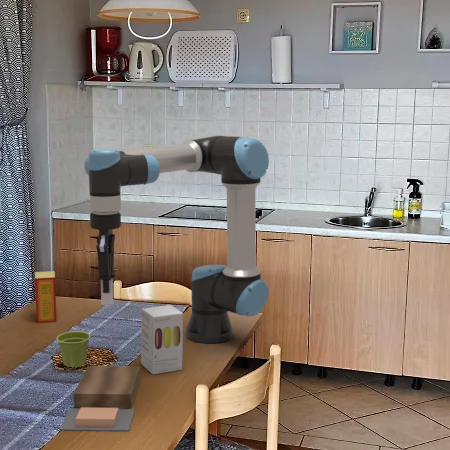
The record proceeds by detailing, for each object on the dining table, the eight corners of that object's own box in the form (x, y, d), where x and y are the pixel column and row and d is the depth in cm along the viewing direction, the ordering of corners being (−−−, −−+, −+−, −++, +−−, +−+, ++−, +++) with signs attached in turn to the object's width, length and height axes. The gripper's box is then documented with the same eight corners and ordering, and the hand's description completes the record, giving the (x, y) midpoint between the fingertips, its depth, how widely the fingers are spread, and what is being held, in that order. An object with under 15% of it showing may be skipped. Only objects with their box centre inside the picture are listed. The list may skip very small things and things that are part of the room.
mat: (134, 410, 171) (134, 408, 171) (128, 431, 160) (128, 429, 160) (69, 409, 171) (69, 408, 171) (59, 430, 160) (59, 429, 160)
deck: (140, 380, 189) (139, 366, 188) (131, 409, 171) (130, 394, 170) (88, 379, 189) (88, 365, 188) (74, 408, 171) (73, 393, 170)
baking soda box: (36, 314, 244) (35, 270, 242) (55, 313, 246) (54, 269, 243) (36, 323, 235) (35, 277, 233) (56, 321, 237) (55, 276, 234)
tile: (114, 419, 161) (114, 427, 161) (118, 407, 166) (118, 415, 167) (75, 418, 161) (75, 426, 161) (80, 407, 167) (81, 415, 167)
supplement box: (152, 375, 192) (151, 317, 189) (140, 364, 200) (139, 308, 197) (183, 369, 197) (183, 312, 194) (170, 358, 205) (170, 303, 202)
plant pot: (74, 374, 192) (74, 344, 191) (50, 367, 197) (49, 338, 195) (98, 364, 200) (97, 335, 198) (73, 357, 205) (73, 329, 203)
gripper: (95, 207, 178) (97, 296, 182) (84, 216, 165) (87, 311, 169) (124, 208, 178) (125, 296, 182) (116, 216, 165) (118, 312, 169)
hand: (107, 303), depth 175 cm, fingers closed
